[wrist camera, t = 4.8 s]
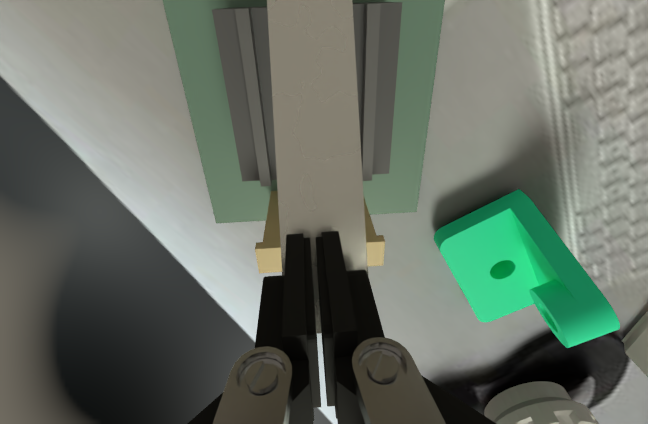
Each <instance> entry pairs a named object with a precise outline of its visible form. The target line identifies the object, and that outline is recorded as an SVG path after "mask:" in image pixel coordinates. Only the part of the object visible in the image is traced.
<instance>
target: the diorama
mask: <svg viewBox="0 0 648 424" xmlns="http://www.w3.org/2000/svg"><path fill="white" fill-rule="evenodd" d="M622 341H623V343H624V347H625V353H626V354H627V355H628V356H629V357H630V358H631V359H632V361H633V362H634V363H635V364H636V365H637V366H638V367H639V368H640V369H641V370H642V371H643V373H644V374H645V375H646V376H647V377H648V311H647V312H646V313H645V314H644V315H643V317H642V318H641V319H640V320H639V321H638V322H637V323H636V325H635V326H634V327H633V328H632V329H631V330H630V332H629V333H628V334H627V335H626V336H625V337H624V339H623V340H622Z"/></svg>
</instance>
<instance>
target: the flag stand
mask: <svg viewBox="0 0 648 424" xmlns="http://www.w3.org/2000/svg"><path fill="white" fill-rule="evenodd" d="M484 412H485V417H487V418H489V419H490V420H492V421H493V422H495V423H496V424H599V423H598V422H597V420H596V419H595V418H594V416H593V415H592V413H591V412H590V410H589V409H588V408H587V407H586V406H585V405H583V404H581V403H578V402H575V401H572V399H571V398H570V396H569V395H568V393H567V392H566V390H565V389H564V388H563V387H562V386H561V385H559V384H556V383H553V382H547V381H538V382H529V383H524V384H520V385H517V386H514V387H512V388H509V389H507V390H505V391H503V392H501V393H499V394H498V395H497V396H495V397H494V398H493V399H492V400H491V401H490V402H489V403H488V404H487V406H486V408H485V411H484Z"/></svg>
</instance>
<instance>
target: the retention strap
mask: <svg viewBox="0 0 648 424" xmlns="http://www.w3.org/2000/svg"><path fill="white" fill-rule="evenodd" d="M267 11H268V29H269V47H270V64H271V82H272V100H273V118H274V136H275V154H276V171H277V189H278V207H279V225H280V243H281V261H282V275H285V253H286V235H287V234H299V233H303V235H304V238H306V237H310V243H311V258H312V273H313V287H314V302H315V318H316V333H322V332H321V319H320V306H319V291H318V273H317V256H316V239H315V237H321V236H322V232H329V231H339V236H340V241H341V247H342V252H343V257H344V262H345V267H346V271H350V270H364V269H365V270H366V271H367V274H368V265H367V248H366V230H365V213H364V195H363V178H362V161H361V143H360V126H359V109H358V91H357V74H356V56H355V39H354V22H353V4H352V0H267Z"/></svg>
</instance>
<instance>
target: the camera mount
mask: <svg viewBox="0 0 648 424" xmlns="http://www.w3.org/2000/svg"><path fill="white" fill-rule="evenodd" d="M434 241H435V243H436V245H437V246H438V248H439V250H440V252H441V254H442V255H443V257H444V259H445V261H446V263H447V264H448V266H449V268H450V270H451V271H452V273H453V275H454V277H455V279H456V280H457V282H458V284H459V286H460V287H461V289H462V291H463V293H464V295H465V296H466V298H467V300H468V302H469V304H470V305H471V307H472V309H473V311H474V312H475V314H476V316H477V318H478V320H480V321H481V322H490V321H493V320H495V319H498V318H500V317H503V316H505V315H508V314H510V313H513V312H515V311H517V310H520V309H522V308H525V307H527V306H530V305H532V304H535V305H536V307H537V309H538V310H539V312H540V314H541V315H542V317H543V318H544V320H545V321H546V323H547V324H548V326H549V327H550V329H551V330H552V332H553V333H554V334H555V335H556V337H557V338H558V339H559V340H560V342H561V343H562V344H563V345H564V346H565V347H567V348H570V347H572V346H575V345H578V344H580V343H583V342H586V341H588V340H591V339H594V338H597V337H599V336H602V335H605V334H607V333H610V332H613V331H616V330H618V329H619V328H620V324H619V321H618V318H617V316H616V314H615V312H614V310H613V309H612V307H611V305H610V304H609V302H608V301H607V300H606V298H605V297H604V295H603V294H602V293H601V291H600V290H599V289H598V287H597V286H596V285H595V284H594V282H593V281H592V280H591V278H590V277H589V276H588V274H587V273H586V272H585V270H584V269H583V268H582V266H581V265H580V264H579V262H578V261H577V260H576V258H575V257H574V256H573V255H572V253H571V252H570V251H569V249H568V248H567V247H566V245H565V244H564V243H563V241H562V240H561V239H560V237H559V236H558V235H557V233H556V232H555V231H554V229H553V228H552V227H551V225H550V224H549V223H548V222H547V220H546V219H545V218H544V216H543V215H542V214H541V212H540V211H539V210H538V208H537V207H536V206H535V204H534V203H533V202H532V200H531V199H530V198H529V197H528V196H527V195H525V194H524V193H523V192H522V191H521V190H520V189H518V190H516V191H514V192H512V193H510V194H508V195H506V196H504V197H502V198H500V199H498V200H496V201H494V202H492V203H490V204H488V205H486V206H484V207H481V208H479V209H477V210H475V211H473V212H471V213H469V214H467V215H465V216H463V217H461V218H459V219H457V220H455V221H453V222H451V223H449V224H447V225H445V226H443V227H441V228H440V229H438V230H437V231H436V233H435V235H434Z"/></svg>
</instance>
